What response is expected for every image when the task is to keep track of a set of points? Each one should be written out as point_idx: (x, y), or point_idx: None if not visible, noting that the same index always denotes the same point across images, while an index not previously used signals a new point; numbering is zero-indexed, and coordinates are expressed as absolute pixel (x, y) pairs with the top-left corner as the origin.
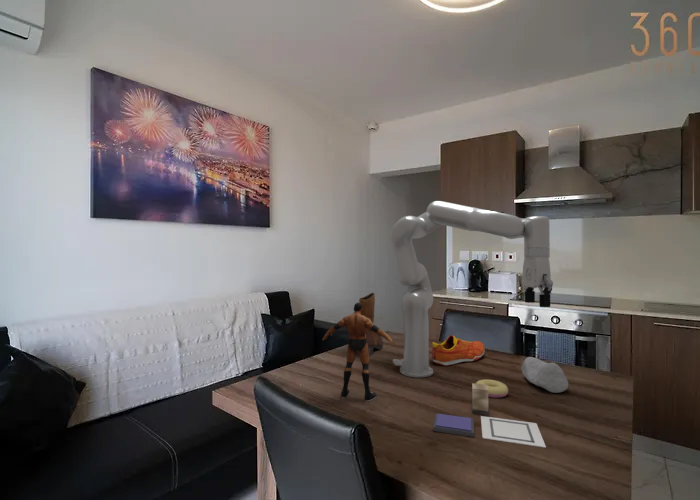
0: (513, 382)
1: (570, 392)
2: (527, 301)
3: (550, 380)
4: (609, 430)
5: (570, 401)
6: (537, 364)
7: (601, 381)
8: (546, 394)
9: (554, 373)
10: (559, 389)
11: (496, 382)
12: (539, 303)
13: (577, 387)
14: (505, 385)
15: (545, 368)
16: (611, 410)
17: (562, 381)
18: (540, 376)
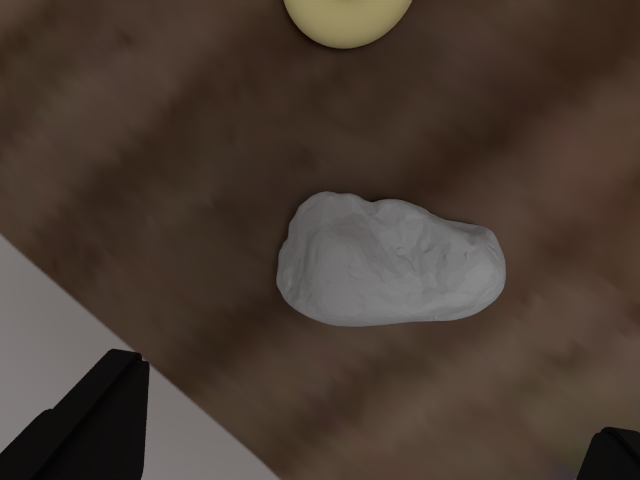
0: (434, 150)
1: None
2: (597, 455)
3: (296, 237)
4: (22, 204)
5: (226, 244)
6: (424, 275)
7: (371, 471)
8: (294, 202)
9: (303, 270)
10: (279, 252)
11: (362, 2)
12: (114, 375)
13: (336, 357)
14: (322, 27)
15: (323, 248)
16: (150, 318)
17: (284, 280)
18: (320, 210)
